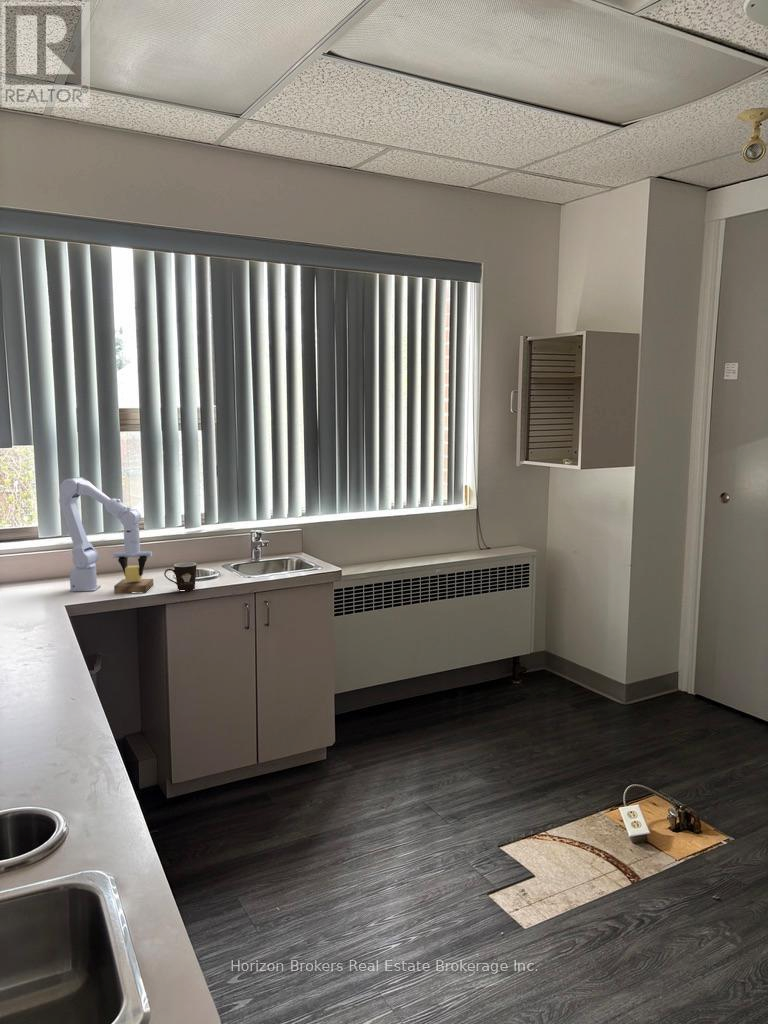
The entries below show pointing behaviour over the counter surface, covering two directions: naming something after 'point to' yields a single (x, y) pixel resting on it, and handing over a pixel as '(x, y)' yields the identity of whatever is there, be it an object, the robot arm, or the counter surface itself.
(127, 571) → the mustard cube
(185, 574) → the coffee mug
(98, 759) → the counter surface
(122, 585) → the walnut base
